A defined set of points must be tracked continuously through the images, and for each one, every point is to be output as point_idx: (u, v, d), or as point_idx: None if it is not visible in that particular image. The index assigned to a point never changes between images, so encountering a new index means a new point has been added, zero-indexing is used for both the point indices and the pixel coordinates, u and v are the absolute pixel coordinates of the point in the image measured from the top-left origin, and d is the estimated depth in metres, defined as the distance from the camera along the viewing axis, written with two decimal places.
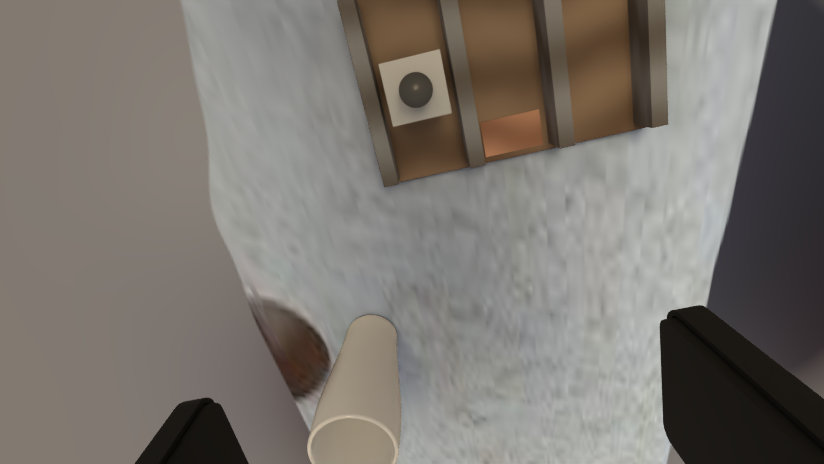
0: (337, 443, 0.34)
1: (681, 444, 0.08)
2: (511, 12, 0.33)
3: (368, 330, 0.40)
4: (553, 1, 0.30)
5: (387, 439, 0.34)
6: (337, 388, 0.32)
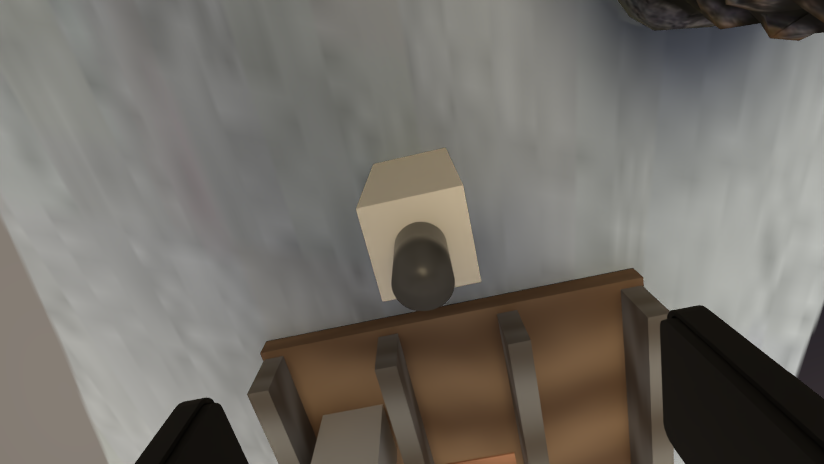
0: None
1: (681, 444, 0.08)
2: (477, 363, 0.26)
3: None
4: (529, 394, 0.23)
5: None
6: None
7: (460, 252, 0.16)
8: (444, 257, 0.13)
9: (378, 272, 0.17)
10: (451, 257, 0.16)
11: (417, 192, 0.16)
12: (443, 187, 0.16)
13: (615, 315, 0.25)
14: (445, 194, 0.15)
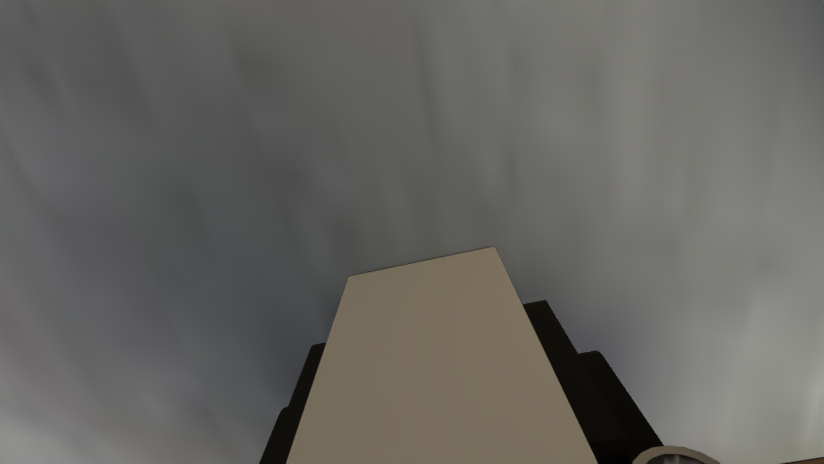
0: None
1: None
2: None
3: None
4: None
5: None
6: None
7: None
8: None
9: None
10: None
11: None
12: None
13: None
14: None
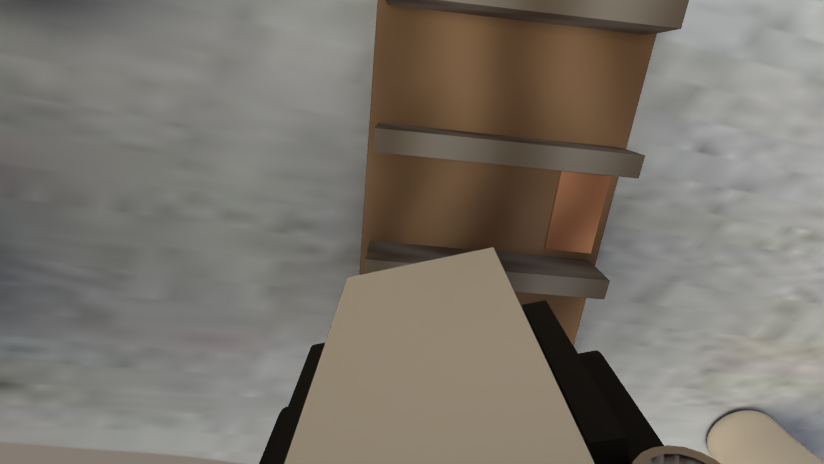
0: None
1: None
2: (429, 177, 0.25)
3: (740, 462, 0.30)
4: (442, 145, 0.22)
5: None
6: None
7: None
8: None
9: None
10: None
11: None
12: None
13: (418, 16, 0.22)
14: None
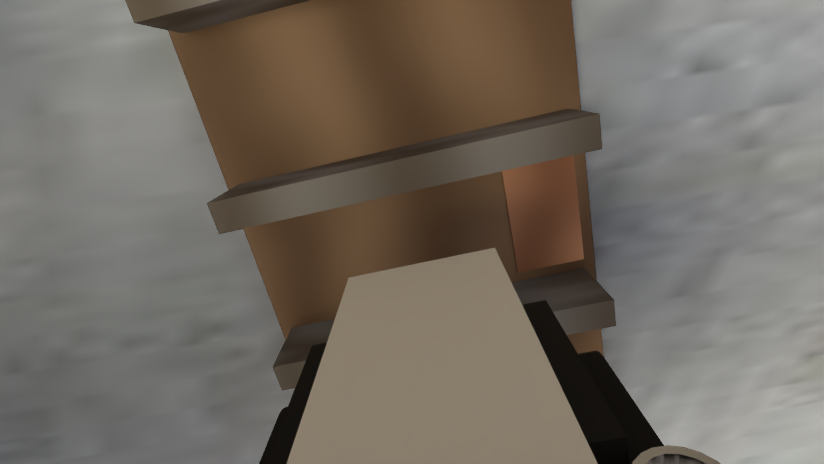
0: None
1: None
2: (331, 231, 0.19)
3: None
4: (304, 196, 0.15)
5: None
6: None
7: None
8: None
9: None
10: None
11: None
12: None
13: (228, 33, 0.16)
14: None
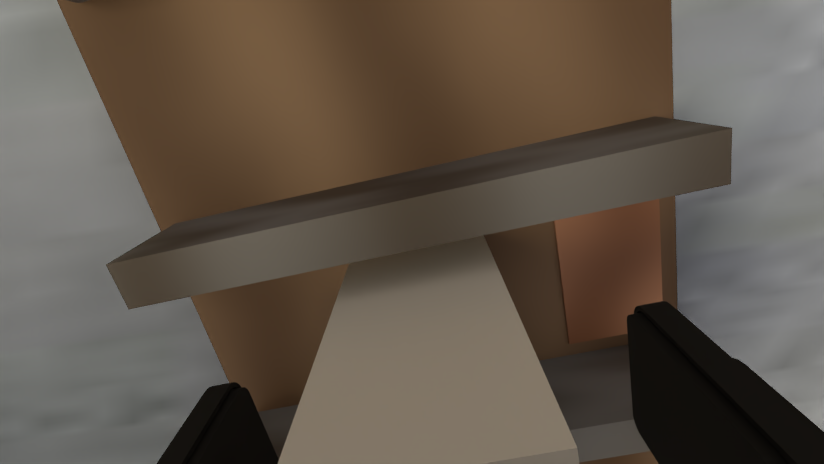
0: None
1: (648, 434, 0.09)
2: (308, 287, 0.13)
3: None
4: (256, 254, 0.10)
5: None
6: None
7: None
8: None
9: None
10: None
11: (440, 446, 0.06)
12: (513, 436, 0.06)
13: (147, 2, 0.11)
14: None
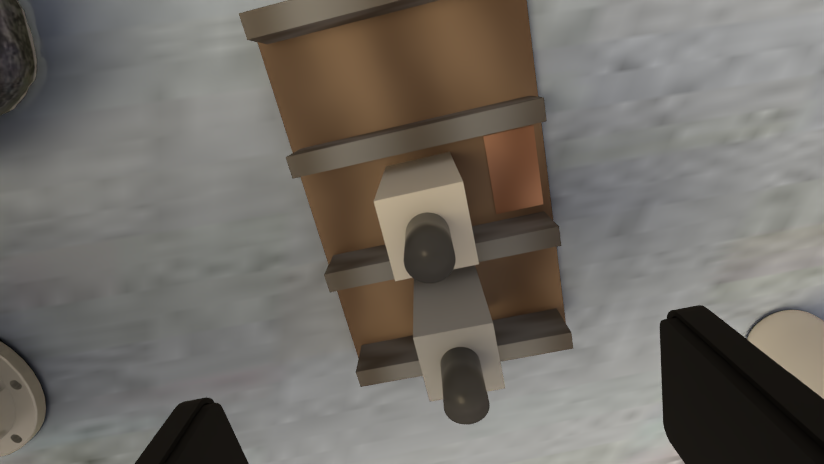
0: None
1: (681, 444, 0.08)
2: (363, 182, 0.27)
3: None
4: (350, 152, 0.23)
5: None
6: None
7: (461, 238, 0.19)
8: (447, 239, 0.16)
9: (391, 255, 0.20)
10: (453, 243, 0.19)
11: (425, 187, 0.19)
12: (446, 183, 0.19)
13: (298, 44, 0.24)
14: (448, 189, 0.19)
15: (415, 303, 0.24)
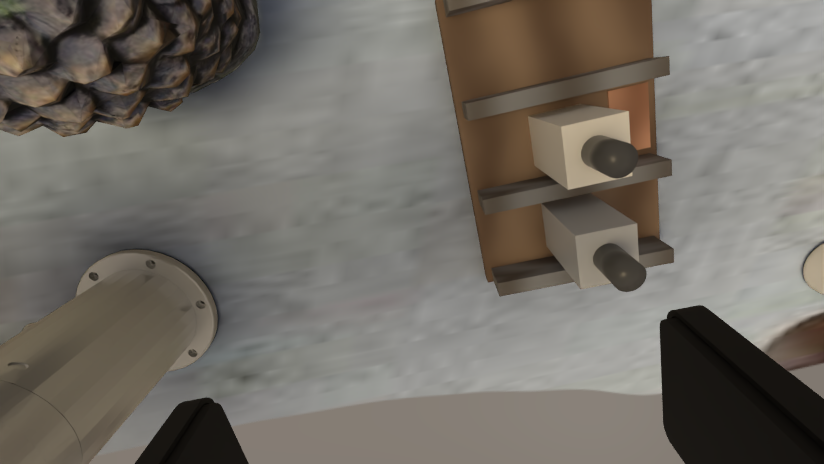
0: None
1: (681, 444, 0.08)
2: (508, 129, 0.33)
3: None
4: (515, 100, 0.30)
5: None
6: None
7: None
8: None
9: (568, 169, 0.26)
10: None
11: (597, 117, 0.26)
12: (614, 113, 0.26)
13: (470, 17, 0.31)
14: (617, 117, 0.25)
15: (560, 219, 0.31)
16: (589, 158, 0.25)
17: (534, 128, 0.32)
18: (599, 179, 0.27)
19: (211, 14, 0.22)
